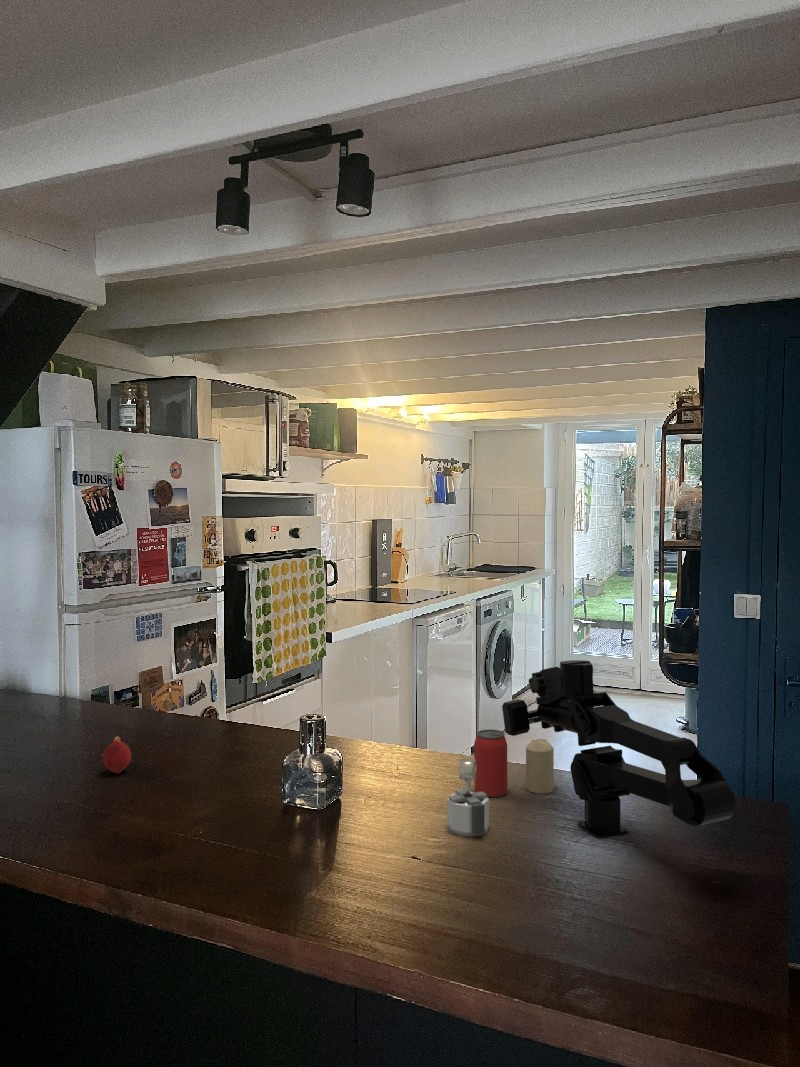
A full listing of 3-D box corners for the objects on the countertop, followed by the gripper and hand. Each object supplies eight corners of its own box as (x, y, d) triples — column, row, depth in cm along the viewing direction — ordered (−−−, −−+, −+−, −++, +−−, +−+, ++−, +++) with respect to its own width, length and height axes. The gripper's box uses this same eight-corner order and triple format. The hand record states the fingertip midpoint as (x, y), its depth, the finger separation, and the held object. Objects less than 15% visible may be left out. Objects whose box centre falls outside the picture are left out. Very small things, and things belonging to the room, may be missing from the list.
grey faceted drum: (498, 835, 143) (498, 801, 143) (460, 842, 141) (460, 807, 140) (477, 818, 151) (477, 786, 151) (441, 824, 148) (441, 791, 148)
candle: (545, 796, 162) (545, 746, 162) (521, 790, 166) (521, 741, 165) (558, 788, 167) (558, 739, 166) (534, 782, 170) (534, 735, 170)
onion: (125, 778, 175) (125, 741, 175) (99, 778, 175) (98, 741, 175) (135, 769, 181) (134, 733, 180) (109, 769, 181) (108, 733, 181)
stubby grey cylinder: (485, 806, 145) (485, 763, 144) (461, 810, 143) (461, 766, 143) (474, 797, 149) (473, 755, 149) (450, 801, 147) (450, 758, 147)
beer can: (506, 799, 161) (506, 738, 160) (472, 797, 162) (472, 737, 161) (508, 787, 167) (508, 729, 167) (476, 785, 168) (476, 727, 168)
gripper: (603, 663, 158) (556, 657, 172) (521, 681, 150) (479, 673, 164) (611, 721, 157) (563, 710, 172) (529, 742, 150) (486, 729, 164)
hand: (523, 704), depth 168 cm, fingers open, 9 cm apart
